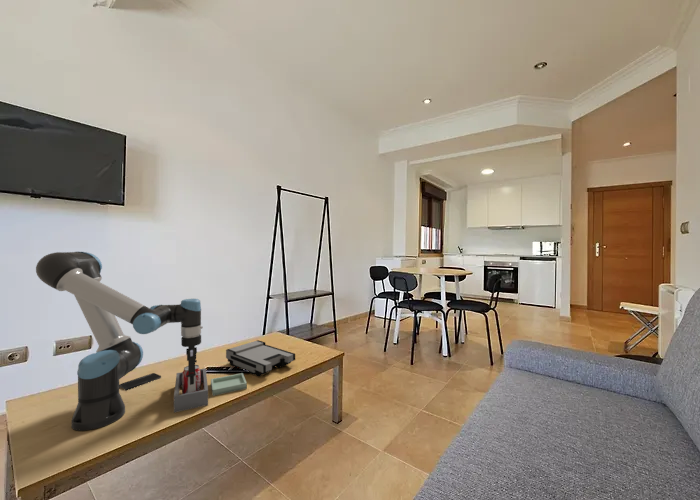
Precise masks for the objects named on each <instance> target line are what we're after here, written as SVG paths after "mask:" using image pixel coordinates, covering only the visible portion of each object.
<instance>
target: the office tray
mask: <svg viewBox="0 0 700 500" xmlns="http://www.w3.org/2000/svg"><path fill="white" fill-rule="evenodd" d="M225 358H226V359H227V363H228V362H229V366H231V367H233V368H236V367H239V368H243V369H246V370H248V371H249V374H250V375H252V376H255V377H258V378H259V377H261V376H264V375H266V374H268V373H270V372H271V371H272V369H273V367H275V368H278V369H281V368H283V367H285V366H288V365H289V364H291V363H292V362H294V361H296V353H294V352H290V351H287V350H284V349H281V348H278V347H275V346H272V345H268V344H266V341H262V340H258V339H257V340H254V341H251V342H248V343H247V342H246V343H244V344H241V345H237V346H233V347H231V348H227V349H226V350H225Z"/></svg>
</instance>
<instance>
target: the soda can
mask: <svg viewBox="0 0 700 500" xmlns="http://www.w3.org/2000/svg"><path fill="white" fill-rule="evenodd" d="M200 369H201V368H200V366H199V365H198V364H195V373H196V391H200V390H201V386H202V385H201V384H202V383H201V373H200ZM181 372H182V386H181V394H185V393H190V392H188V377H186V375H188V365H186V366H185V367H183V371H181ZM193 392H195V391H193Z"/></svg>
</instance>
